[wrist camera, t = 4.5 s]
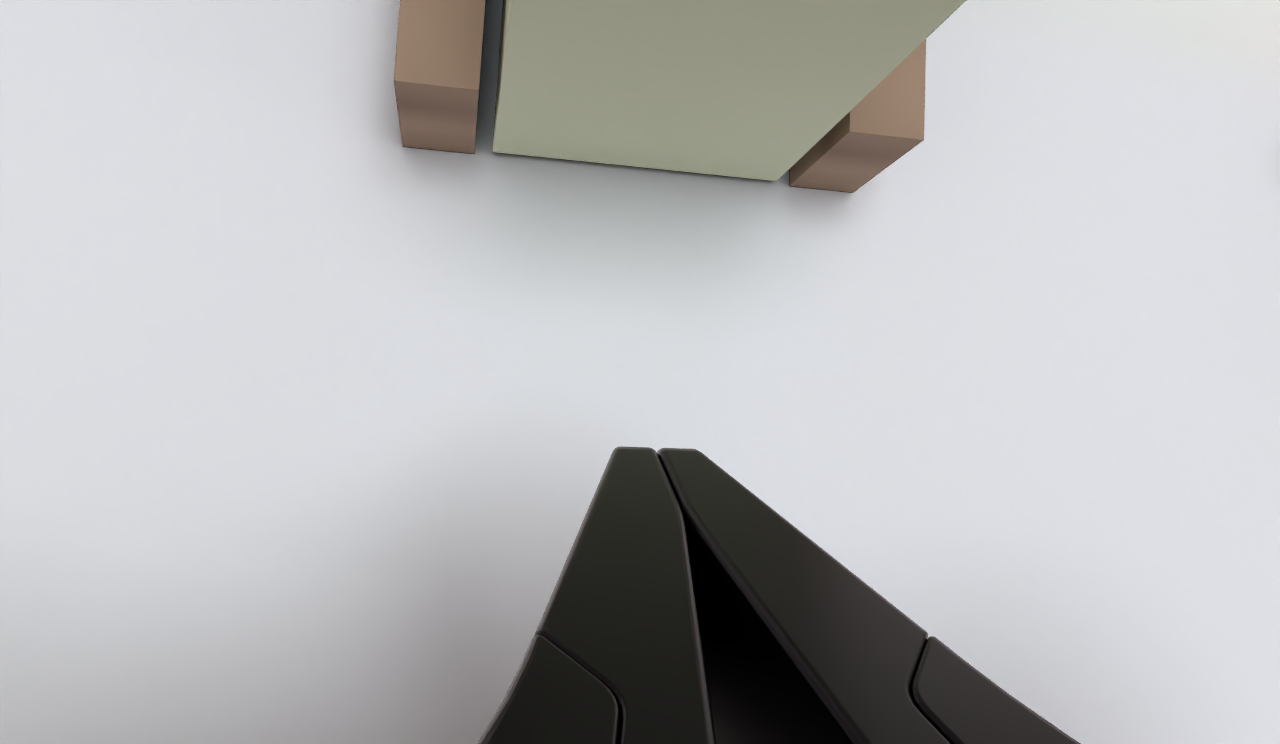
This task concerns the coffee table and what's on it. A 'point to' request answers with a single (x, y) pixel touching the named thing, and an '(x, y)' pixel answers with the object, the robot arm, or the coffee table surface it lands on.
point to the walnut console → (449, 88)
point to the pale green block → (694, 77)
